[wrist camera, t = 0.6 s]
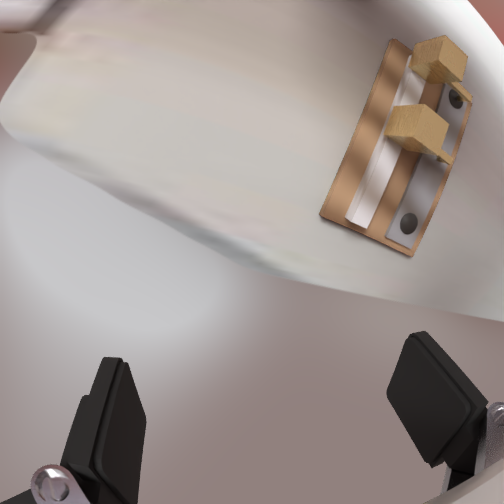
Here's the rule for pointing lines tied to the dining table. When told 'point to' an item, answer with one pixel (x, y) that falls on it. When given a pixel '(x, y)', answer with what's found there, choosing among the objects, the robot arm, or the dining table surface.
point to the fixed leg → (441, 64)
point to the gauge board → (367, 147)
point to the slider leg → (418, 130)
